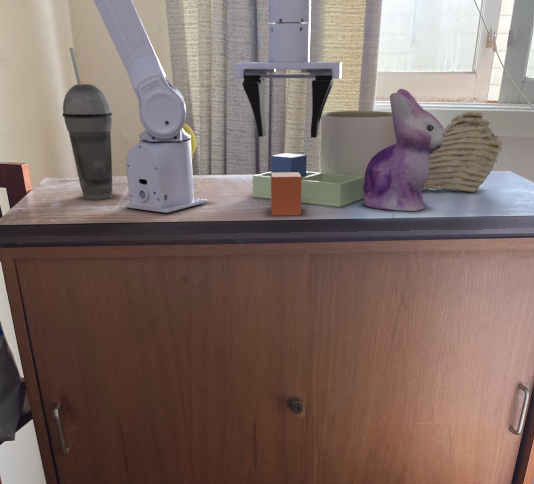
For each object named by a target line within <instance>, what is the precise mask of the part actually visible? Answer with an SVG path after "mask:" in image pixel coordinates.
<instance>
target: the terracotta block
mask: <svg viewBox="0 0 534 484" xmlns="http://www.w3.org/2000/svg"><path fill="white" fill-rule="evenodd" d="M301 180H302V177H301V175H300V173H299V172H277V173H271V199H270V212H271V215H272V216H275V217H276V216H302V202H301Z"/></svg>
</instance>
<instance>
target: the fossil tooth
mask: <svg viewBox="0 0 534 484" xmlns="http://www.w3.org/2000/svg"><path fill="white" fill-rule="evenodd" d="M483 117H484V114H483V112H478V111H468V112H462V113H460V114H457V115H456V116H454V117H452V119H451V120H450V122H449V123H448V124H447V125H446V126H445V128H444V129H445V132H446V134H445V138H444V142H443V144H442V146H441V147H440V148H439V149H438V150H436V151H434V152H432V153H431V154H430V156H429V176H428V178H427V180H426V182H425V185H424V187H423V189H422V191H423V190H428V189H429V190H430V189H434V190H439V189H440V190H454V191H460V192H468V193H475V192H477V191H478V190H479V189H480V186H481V185H483V183H484V182H485V181H486V180H487V178H488V177H489V175H490V174H491V172H492V171H493V169H494V165H495V164H497V162H498V160H497V159H498V158H499V157H500V155H499V154H500V153H501V152H502V149H503V147H502V145H503V142H502V141H501V140H499V139H498V137H499V135H495V133H494V132H493V131H492V129H491V128H489V125H490V124H491V123H490V121H489V120H488V119H486V118H483Z"/></svg>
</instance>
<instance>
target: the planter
mask: <svg viewBox="0 0 534 484" xmlns="http://www.w3.org/2000/svg"><path fill="white" fill-rule="evenodd" d="M319 127H320V133H319V136H320V137H319V139H320V140H319V165H320V171H321V172H320V173H330V174H341V175H351V176H360V177H361V176H362V177H365V172H366V168H367V166H368V164H369V162H370V160H371V159H372V157H373V156H374V155H376V154H377V153H378V152H380V151H381V150H383V149H385V148H387V147H389V146H391V145H394V144H395V143H396V138H395V131H394V124H393V117H392V111H382V110H381V111H378V110H340V111H339V110H338V111H327V112H322V115H321V119H320V126H319Z"/></svg>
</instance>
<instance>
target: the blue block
mask: <svg viewBox="0 0 534 484" xmlns="http://www.w3.org/2000/svg"><path fill="white" fill-rule="evenodd" d="M307 155H308V154H301V153H289V152H283V153H278V154H273V155H270V171H271V173H277V172H299V173H300V175H301V177H305V176H306V171H307V161H308V159H307V157H308V156H307Z"/></svg>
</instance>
